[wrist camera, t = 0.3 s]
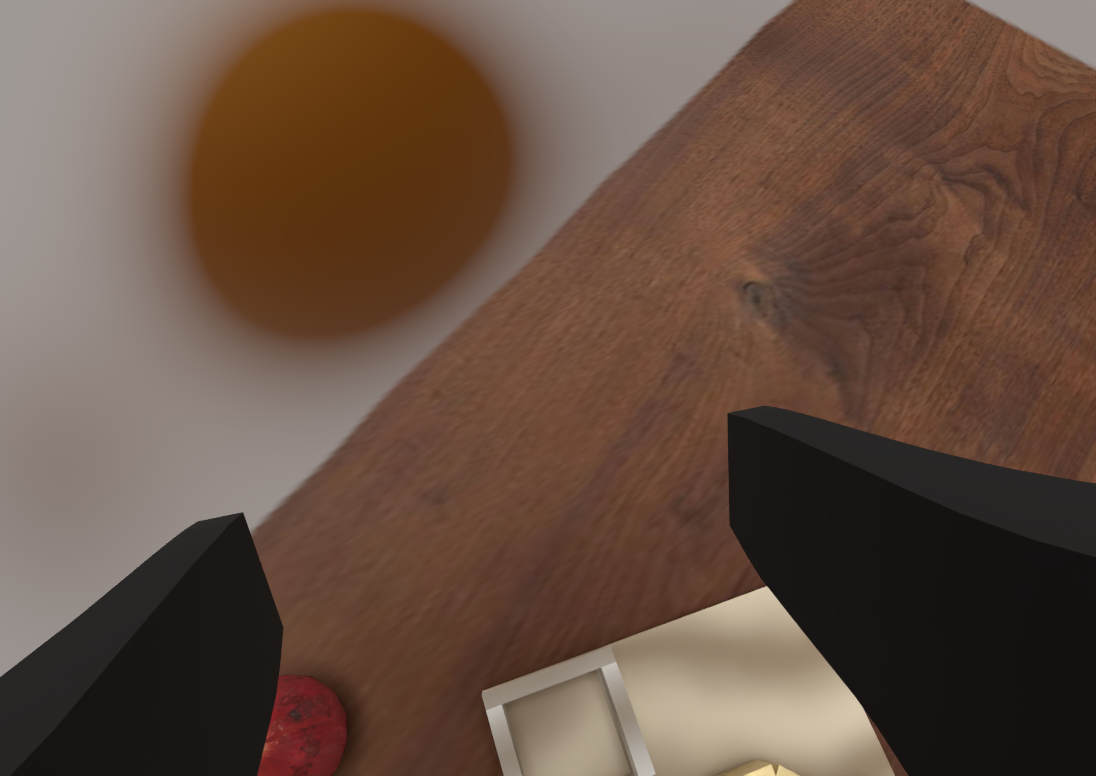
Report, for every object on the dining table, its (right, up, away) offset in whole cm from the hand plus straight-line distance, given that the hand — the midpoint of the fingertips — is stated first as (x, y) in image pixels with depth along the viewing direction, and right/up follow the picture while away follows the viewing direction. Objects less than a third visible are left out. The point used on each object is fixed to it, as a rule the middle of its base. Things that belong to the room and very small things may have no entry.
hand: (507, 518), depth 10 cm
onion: (-12, -17, +26) cm, 33 cm away
